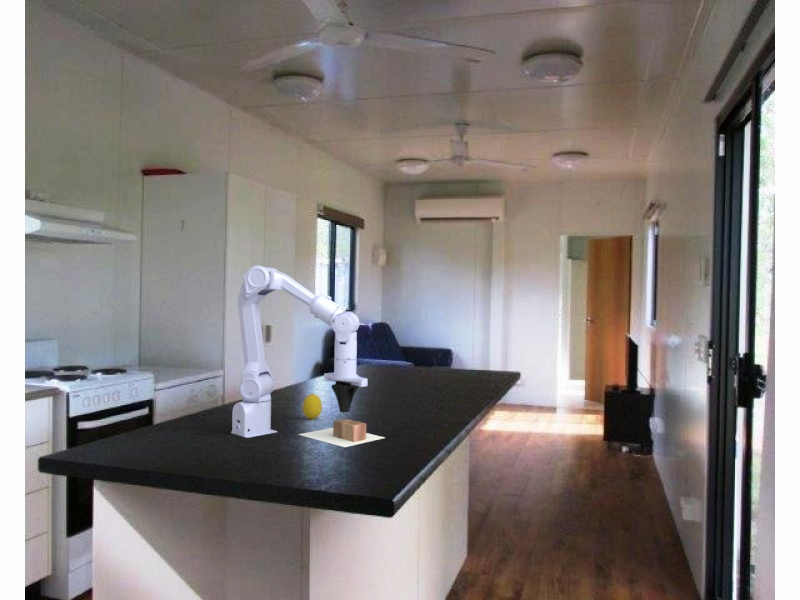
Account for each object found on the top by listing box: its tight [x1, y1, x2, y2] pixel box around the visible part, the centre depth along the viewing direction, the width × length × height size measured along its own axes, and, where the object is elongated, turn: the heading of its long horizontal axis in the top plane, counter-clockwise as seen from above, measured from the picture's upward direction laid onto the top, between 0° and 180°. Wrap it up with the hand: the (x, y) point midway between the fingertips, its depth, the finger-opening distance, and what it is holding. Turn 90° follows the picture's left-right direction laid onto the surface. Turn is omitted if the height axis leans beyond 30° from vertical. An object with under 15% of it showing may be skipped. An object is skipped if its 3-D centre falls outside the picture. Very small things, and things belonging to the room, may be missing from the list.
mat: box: [298, 427, 386, 448], centre depth 148 cm, size 14×18×1 cm
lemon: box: [302, 392, 323, 420], centre depth 169 cm, size 6×6×8 cm
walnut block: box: [332, 418, 367, 442], centre depth 146 cm, size 4×4×8 cm
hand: (344, 411), depth 148 cm, fingers closed
